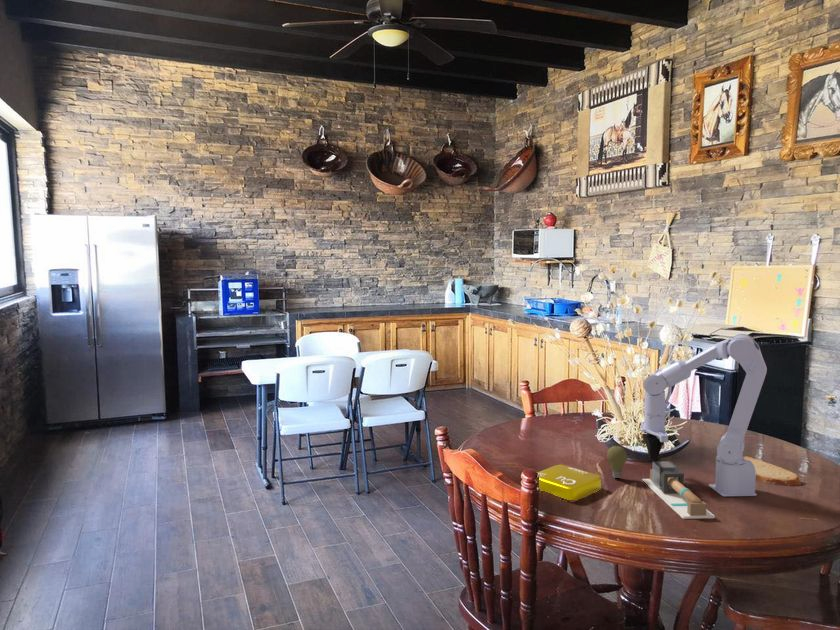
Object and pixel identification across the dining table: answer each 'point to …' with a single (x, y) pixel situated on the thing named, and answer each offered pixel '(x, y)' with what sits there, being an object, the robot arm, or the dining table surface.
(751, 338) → the robot arm
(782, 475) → the slice of bread
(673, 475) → the grey square frame
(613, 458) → the light bulb
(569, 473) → the element tile
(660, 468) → the sleeve
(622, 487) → the dining table surface
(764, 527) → the dining table surface
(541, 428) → the dining table surface
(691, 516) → the pipe rig
